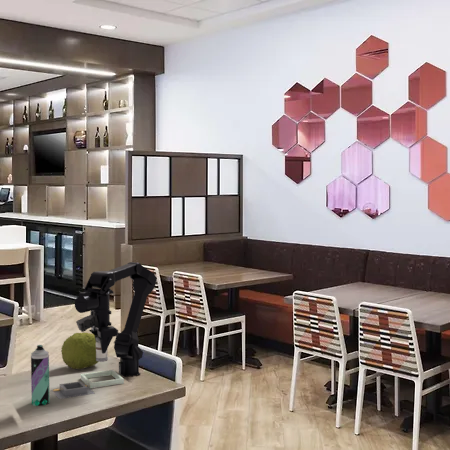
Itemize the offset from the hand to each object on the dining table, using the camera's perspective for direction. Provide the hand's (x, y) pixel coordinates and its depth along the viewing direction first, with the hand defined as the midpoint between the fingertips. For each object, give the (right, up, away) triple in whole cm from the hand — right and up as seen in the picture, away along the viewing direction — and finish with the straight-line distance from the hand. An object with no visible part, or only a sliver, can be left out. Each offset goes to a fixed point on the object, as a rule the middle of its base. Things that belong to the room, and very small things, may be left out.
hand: (101, 351), depth 230 cm
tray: (0, -12, +1) cm, 12 cm away
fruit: (-11, -11, +22) cm, 27 cm away
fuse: (0, -3, 0) cm, 3 cm away
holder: (-7, -13, -11) cm, 18 cm away
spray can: (-15, -14, -22) cm, 30 cm away
